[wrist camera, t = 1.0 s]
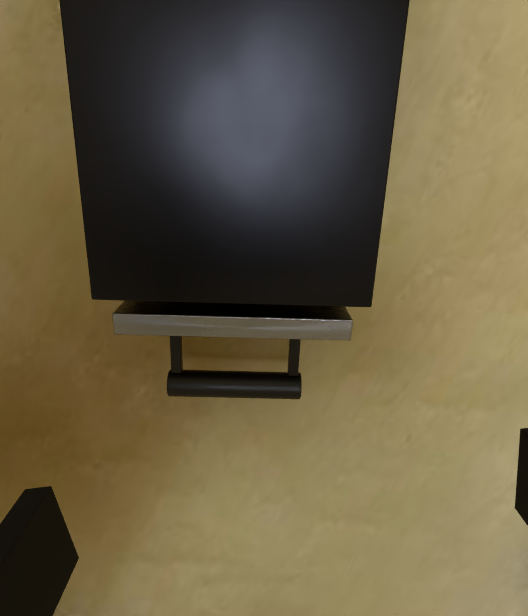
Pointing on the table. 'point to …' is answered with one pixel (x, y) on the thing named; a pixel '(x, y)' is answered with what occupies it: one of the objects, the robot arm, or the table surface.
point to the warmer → (233, 145)
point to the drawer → (238, 324)
